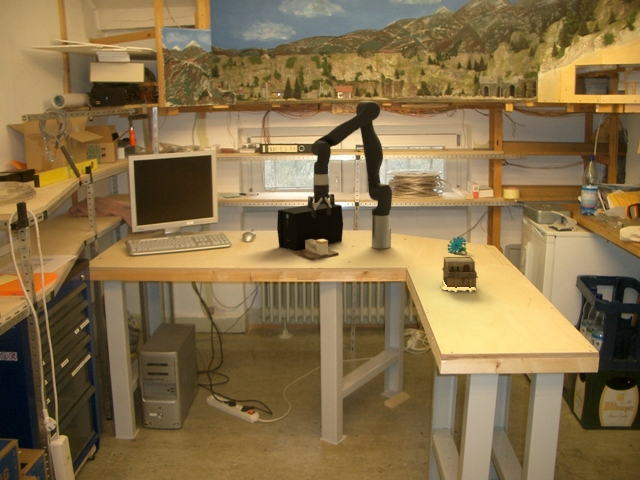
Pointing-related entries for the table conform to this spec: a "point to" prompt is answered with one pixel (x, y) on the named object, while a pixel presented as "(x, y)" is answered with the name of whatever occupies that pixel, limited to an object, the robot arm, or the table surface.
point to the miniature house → (459, 272)
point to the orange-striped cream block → (322, 247)
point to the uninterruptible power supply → (308, 226)
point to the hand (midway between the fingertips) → (321, 216)
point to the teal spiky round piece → (457, 245)
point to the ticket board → (314, 256)
